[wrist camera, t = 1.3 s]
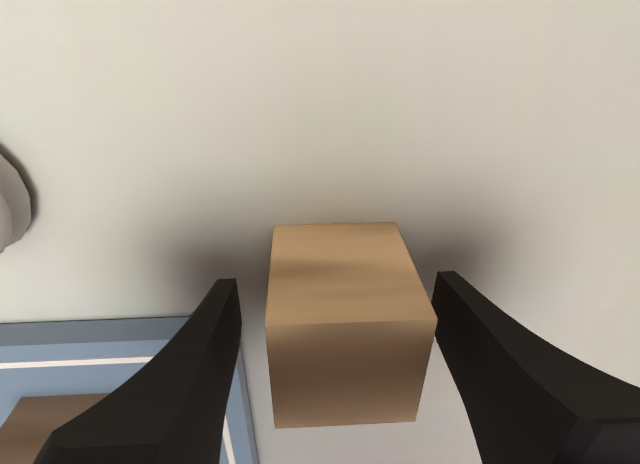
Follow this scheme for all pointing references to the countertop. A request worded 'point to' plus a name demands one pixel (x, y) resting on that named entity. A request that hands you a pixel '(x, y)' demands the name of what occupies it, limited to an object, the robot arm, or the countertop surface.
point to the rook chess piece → (12, 205)
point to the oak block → (345, 326)
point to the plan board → (91, 380)
